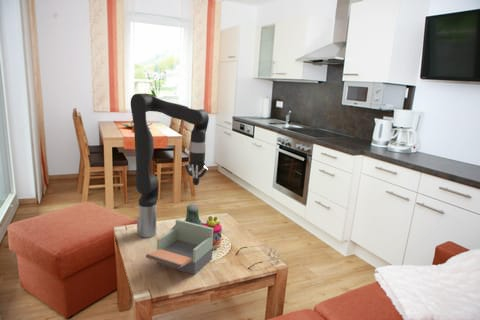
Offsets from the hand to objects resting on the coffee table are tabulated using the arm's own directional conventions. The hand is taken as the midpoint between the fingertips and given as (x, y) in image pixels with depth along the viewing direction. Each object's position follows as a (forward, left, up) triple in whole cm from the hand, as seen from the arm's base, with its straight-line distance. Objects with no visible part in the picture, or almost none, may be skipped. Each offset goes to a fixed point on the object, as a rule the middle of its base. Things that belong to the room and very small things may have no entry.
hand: (195, 184), depth 170 cm
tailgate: (+5, -24, -26) cm, 36 cm away
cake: (+8, +4, -33) cm, 34 cm away
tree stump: (-12, +16, -33) cm, 38 cm away
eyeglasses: (+34, +4, -33) cm, 48 cm away
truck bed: (+5, -16, -33) cm, 37 cm away
